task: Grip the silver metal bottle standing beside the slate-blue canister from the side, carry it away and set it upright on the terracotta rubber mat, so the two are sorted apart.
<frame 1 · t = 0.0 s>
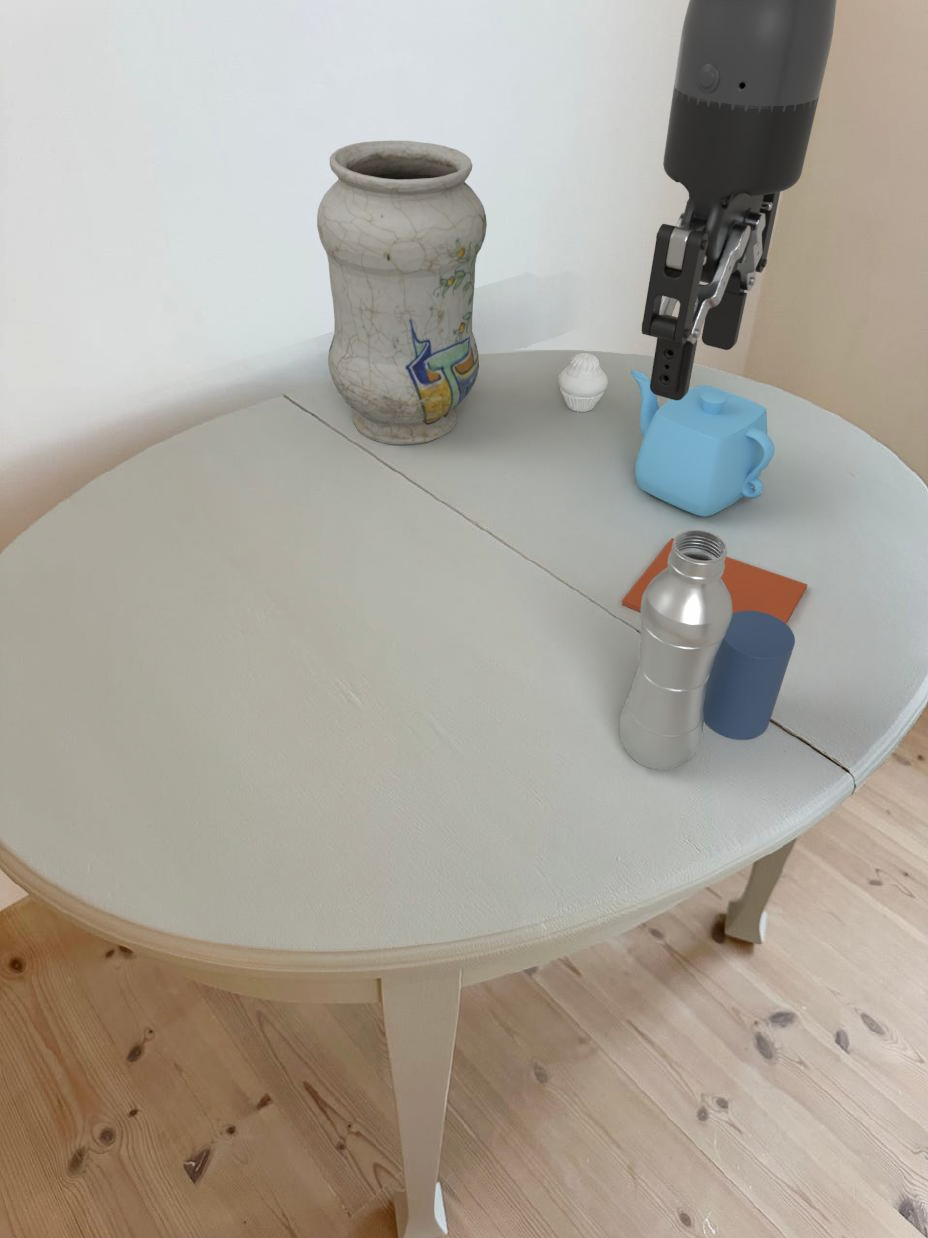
hand: (694, 369, 61), 30 cm above the table, tool pointing down, fingers open, 8 cm apart
blue canister: (734, 714, 79), on the table
silver metal bottle: (655, 750, 77), on the table
teapot: (684, 486, 106), on the table
vase: (407, 421, 117), on the table
terracotta mat: (714, 596, 91), on the table
muffin: (580, 407, 120), on the table
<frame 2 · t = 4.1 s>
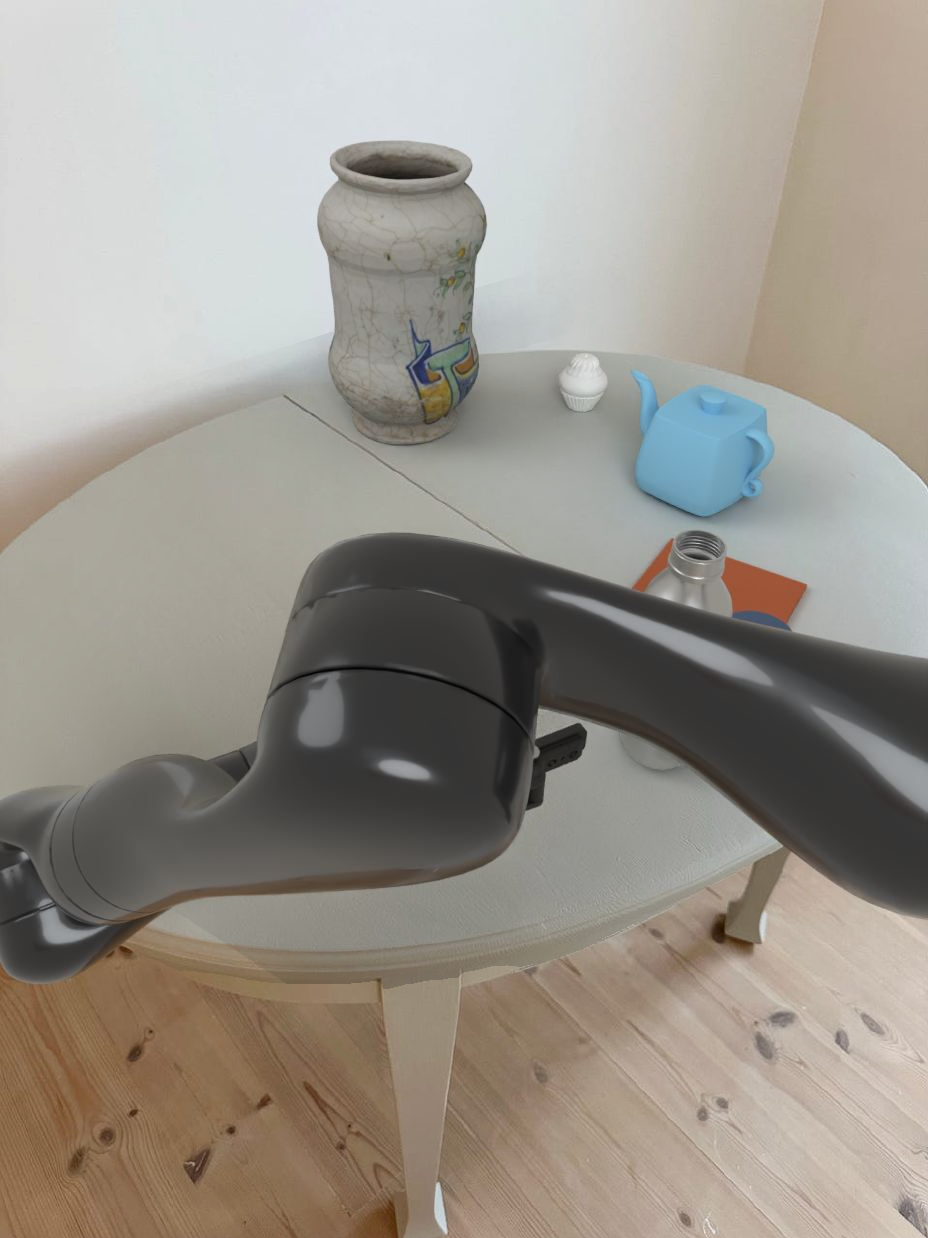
hand: (549, 694, 65), 11 cm above the table, tool horizontal, fingers open, 8 cm apart
nothing on the table moved.
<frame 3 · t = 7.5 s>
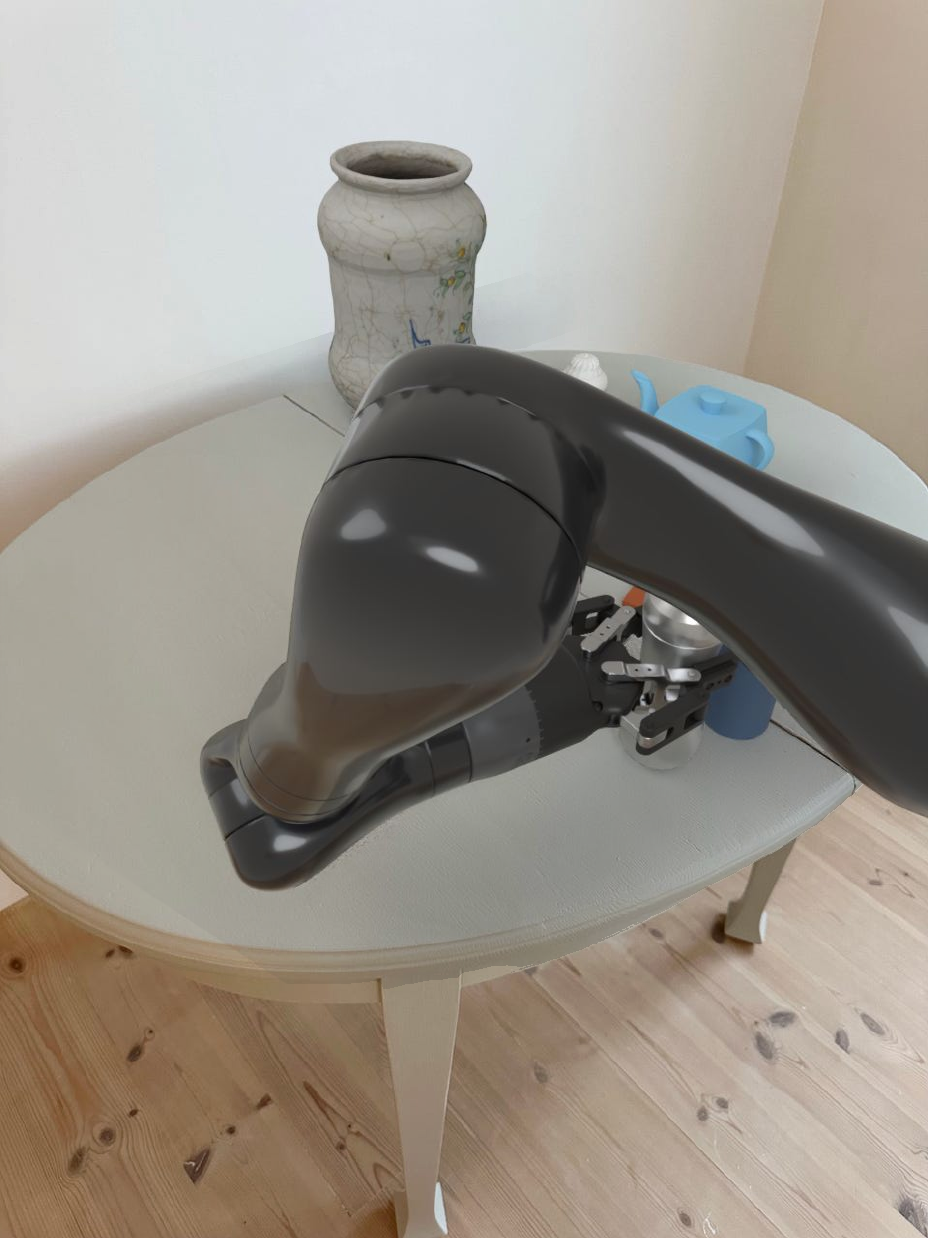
hand: (703, 635, 70), 11 cm above the table, tool horizontal, fingers closed on silver metal bottle, 6 cm apart
silver metal bottle: (655, 749, 77), on the table, touching gripper
everything else where it was.
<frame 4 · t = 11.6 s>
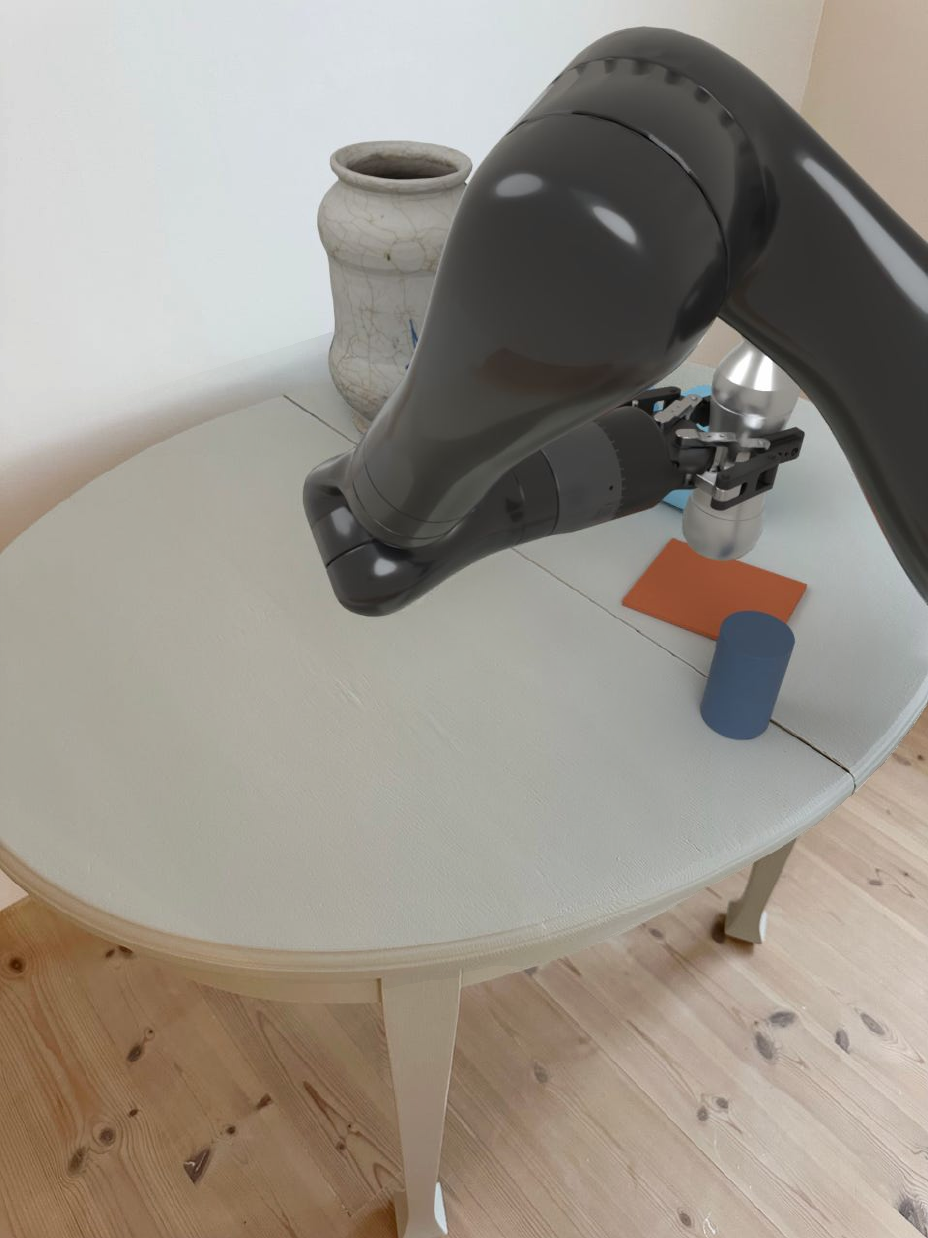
hand: (767, 421, 73), 22 cm above the table, tool horizontal, fingers closed on silver metal bottle, 6 cm apart
silver metal bottle: (715, 548, 79), point 10 cm above the table, touching gripper
everything else where it was.
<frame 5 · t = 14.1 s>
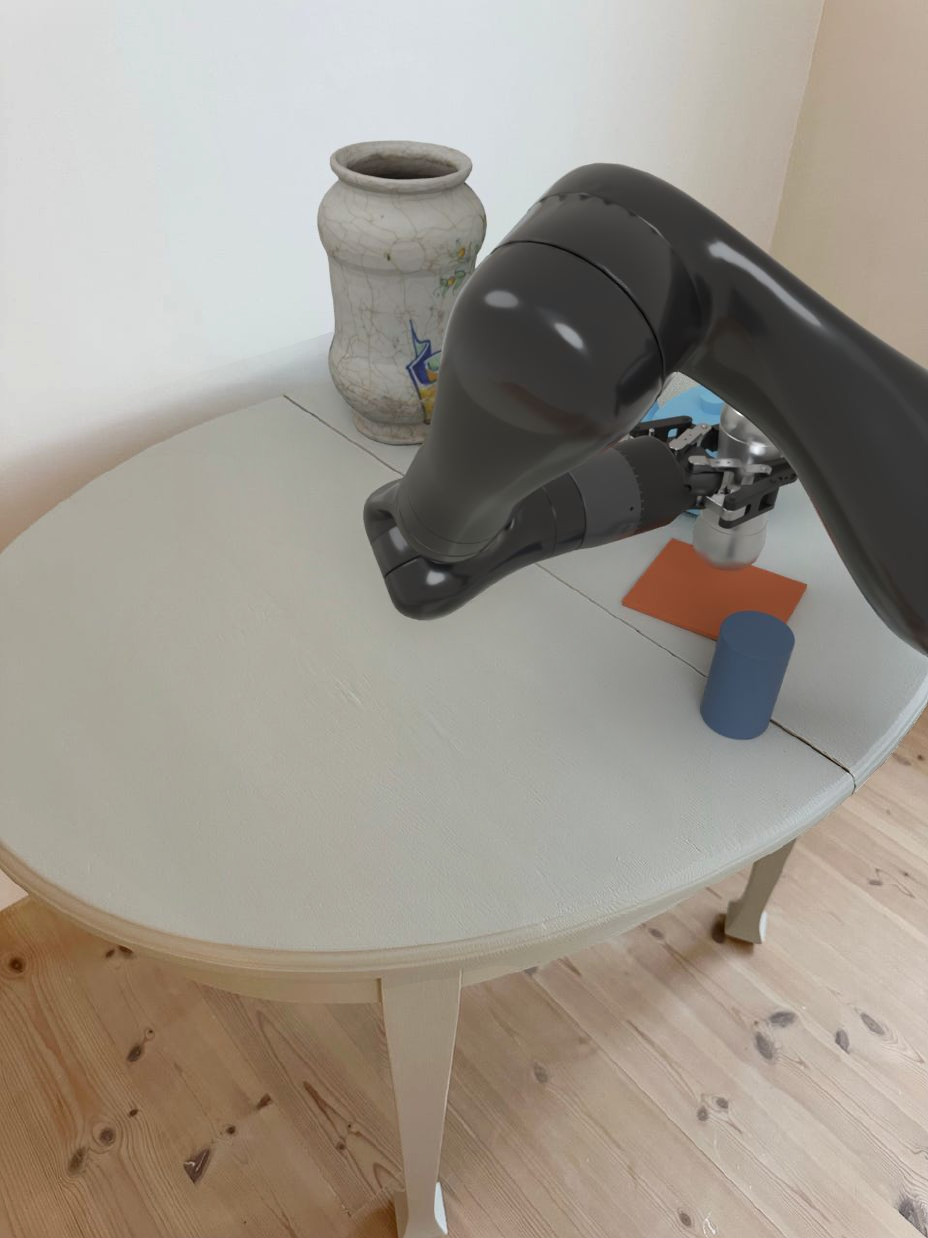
hand: (769, 447, 82), 16 cm above the table, tool horizontal, fingers closed on silver metal bottle, 6 cm apart
silver metal bottle: (722, 560, 88), point 4 cm above the table, touching gripper
everything else where it was.
when the fingers open (12 cm above the table, at t = 15.9 s): silver metal bottle stays where it is, resting on terracotta mat.
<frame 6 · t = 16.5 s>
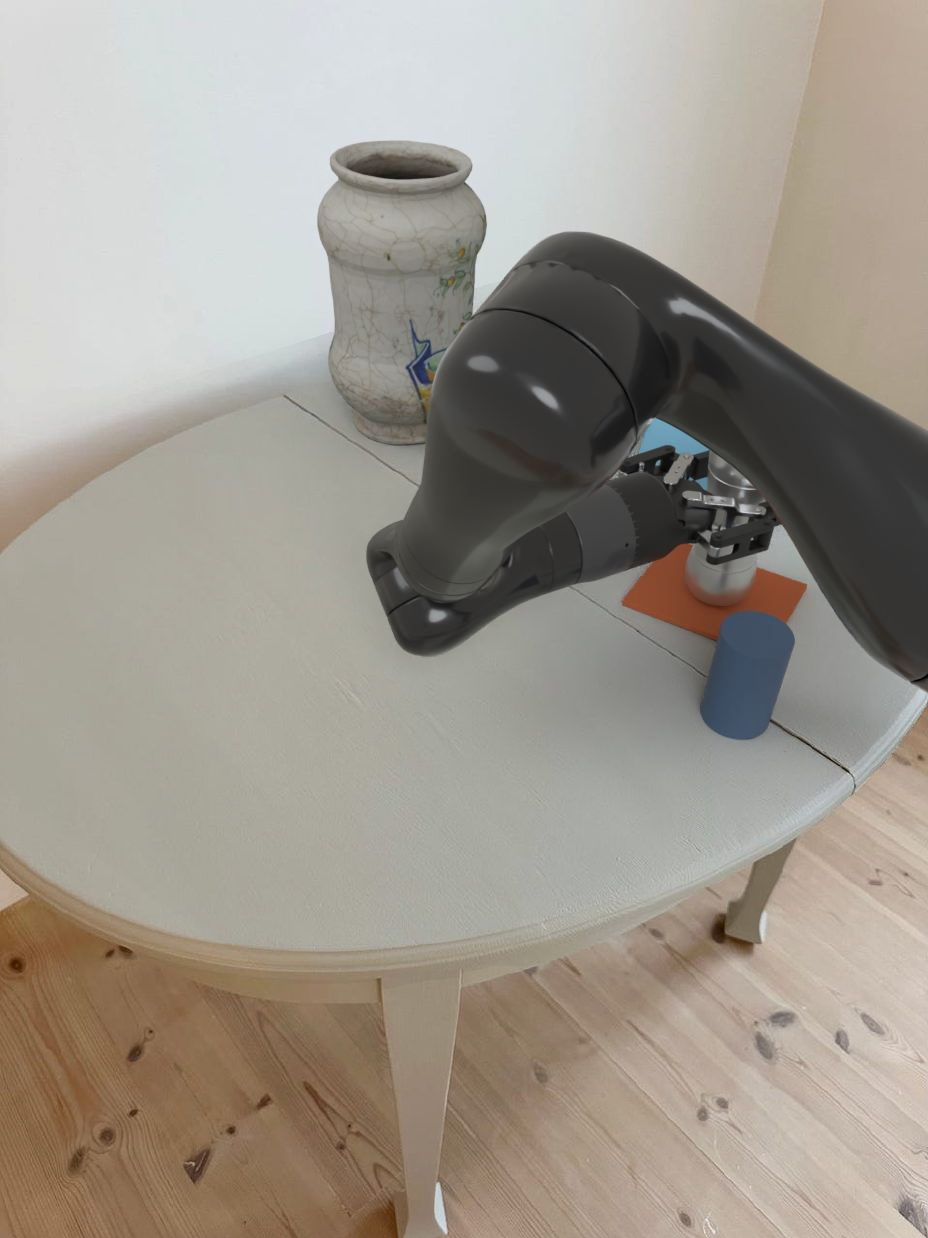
hand: (758, 481, 84), 12 cm above the table, tool horizontal, fingers open, 8 cm apart
silver metal bottle: (714, 594, 91), resting on terracotta mat
everything else where it was.
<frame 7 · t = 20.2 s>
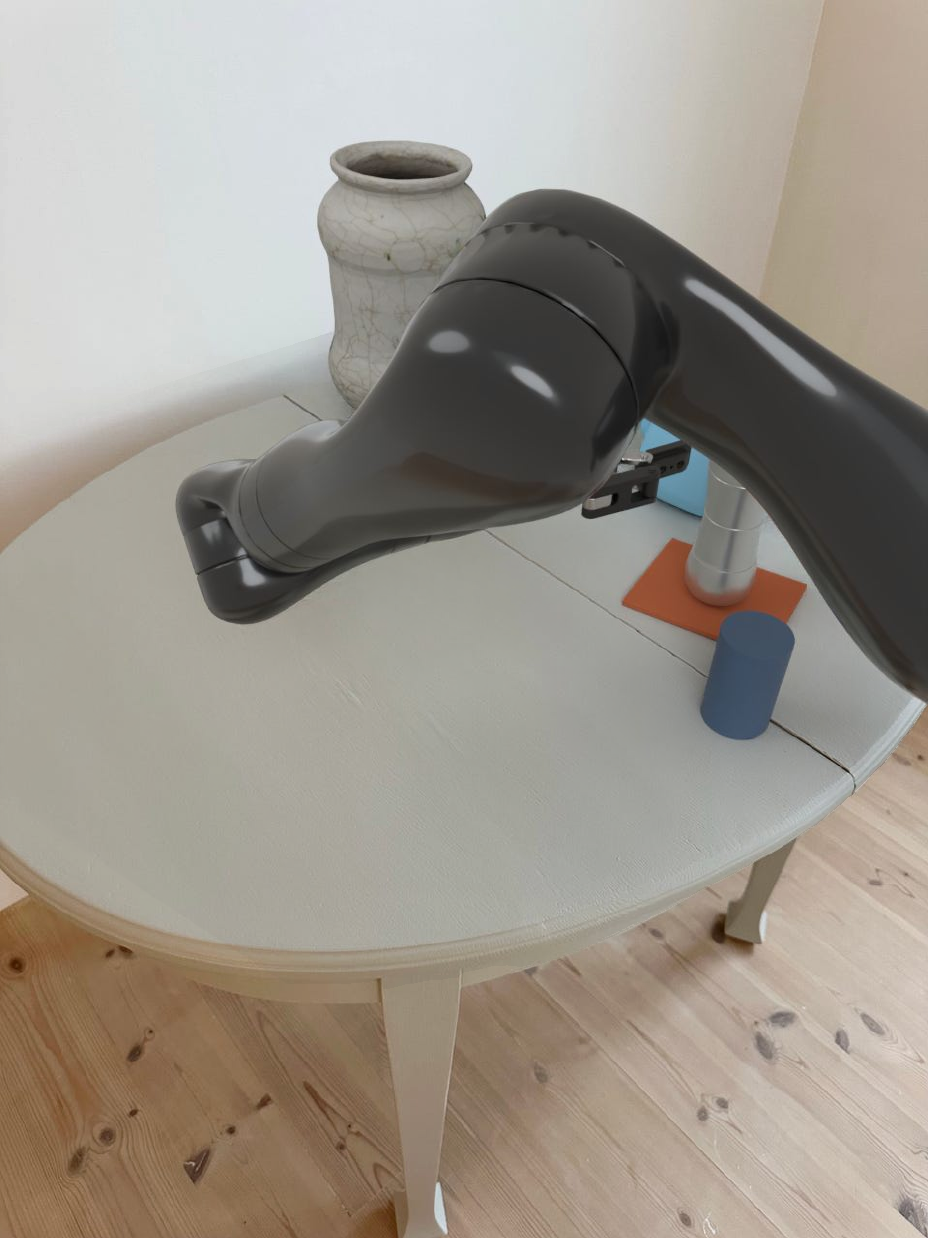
hand: (652, 428, 74), 21 cm above the table, tool horizontal, fingers open, 8 cm apart
nothing on the table moved.
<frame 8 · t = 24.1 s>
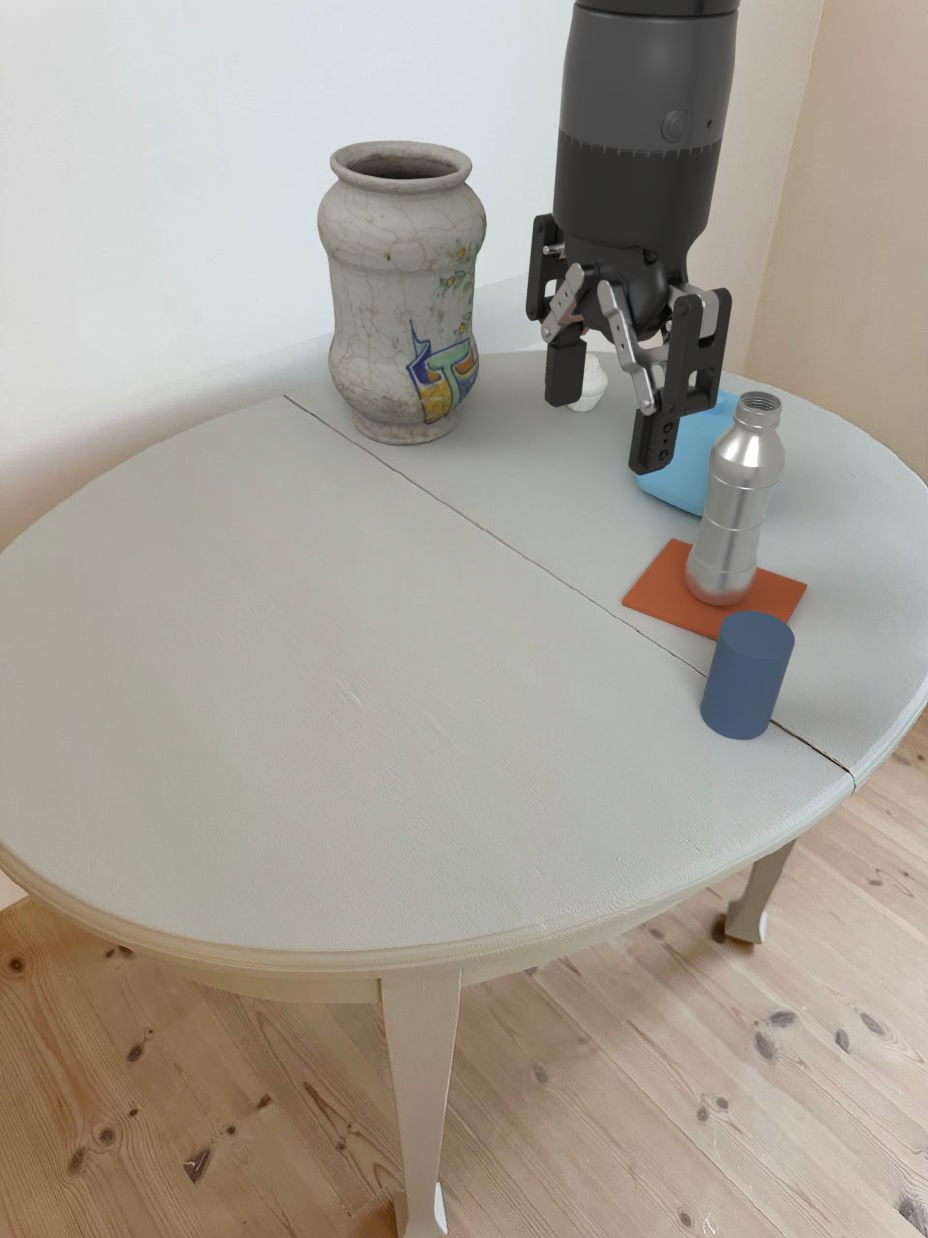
hand: (602, 434, 54), 30 cm above the table, tool pointing down, fingers open, 8 cm apart
nothing on the table moved.
at the end: silver metal bottle inside the target area on the terracotta mat (0.2 cm from its centre), point 0.4 cm above the terracotta mat's base; silver metal bottle tilted 0°; blue canister moved 0.0 cm from its start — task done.
